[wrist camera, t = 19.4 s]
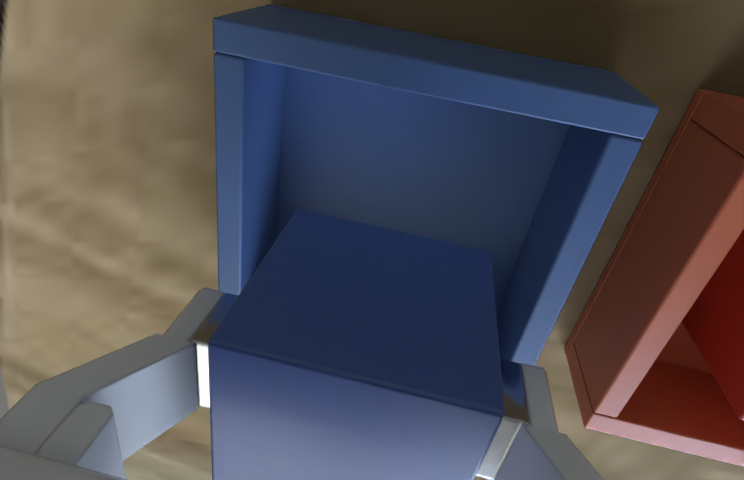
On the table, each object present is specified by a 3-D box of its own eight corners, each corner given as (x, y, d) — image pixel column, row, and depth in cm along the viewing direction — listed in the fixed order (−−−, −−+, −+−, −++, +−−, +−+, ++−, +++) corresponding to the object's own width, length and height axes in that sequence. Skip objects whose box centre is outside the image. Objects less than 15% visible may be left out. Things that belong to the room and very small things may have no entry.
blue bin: (269, 3, 15) (211, 17, 11) (614, 71, 14) (661, 107, 11) (258, 276, 20) (218, 339, 17) (505, 334, 20) (513, 411, 16)
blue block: (297, 206, 11) (205, 340, 7) (492, 250, 11) (507, 415, 7) (285, 348, 13) (211, 506, 9) (444, 387, 13) (435, 566, 9)
